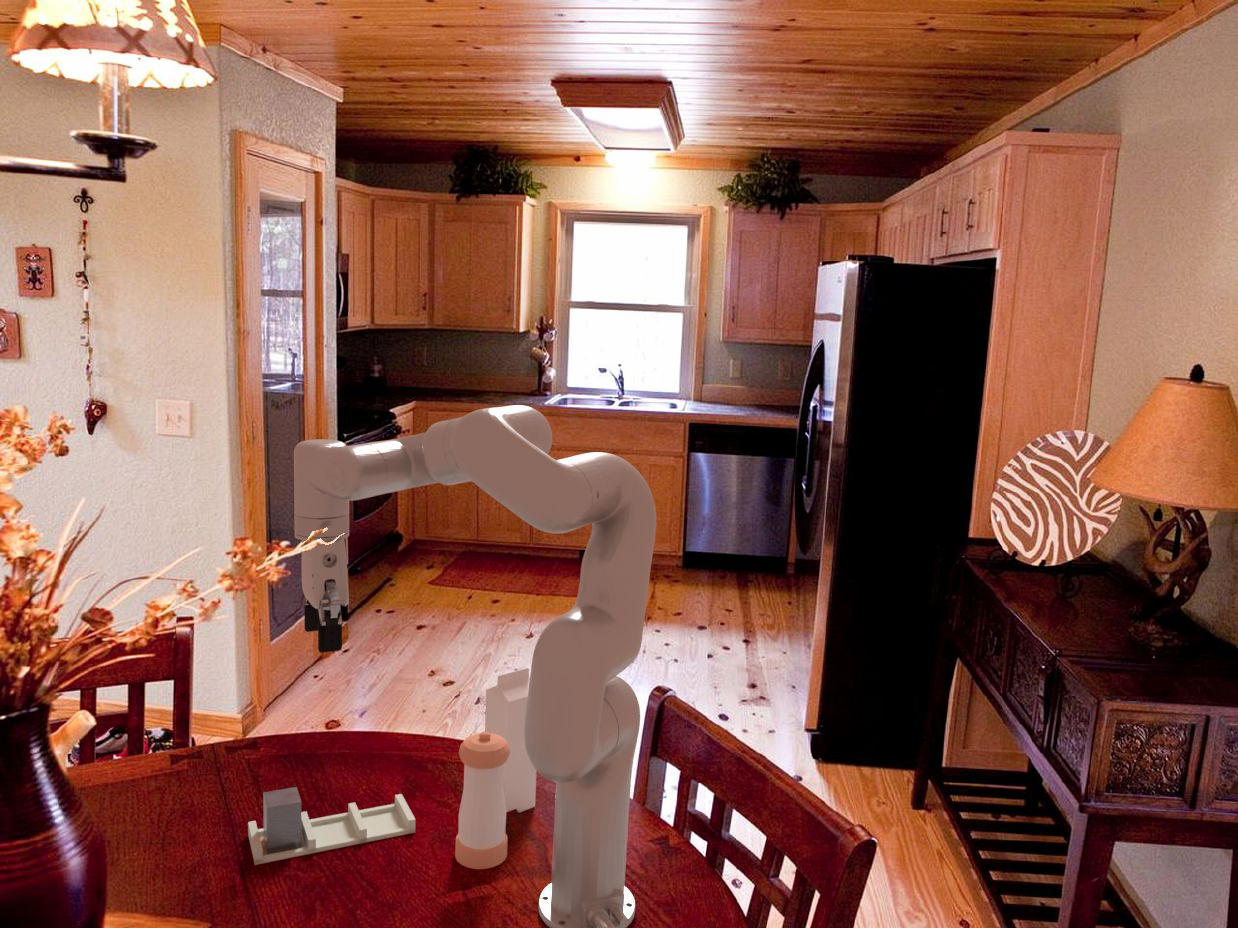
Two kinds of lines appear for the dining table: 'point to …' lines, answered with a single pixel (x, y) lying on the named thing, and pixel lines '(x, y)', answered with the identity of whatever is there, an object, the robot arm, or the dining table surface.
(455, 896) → the dining table surface
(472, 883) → the dining table surface
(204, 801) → the dining table surface
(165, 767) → the dining table surface
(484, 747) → the pepper shaker
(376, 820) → the white compartment tray
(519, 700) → the milk
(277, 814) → the tall gray pillar
